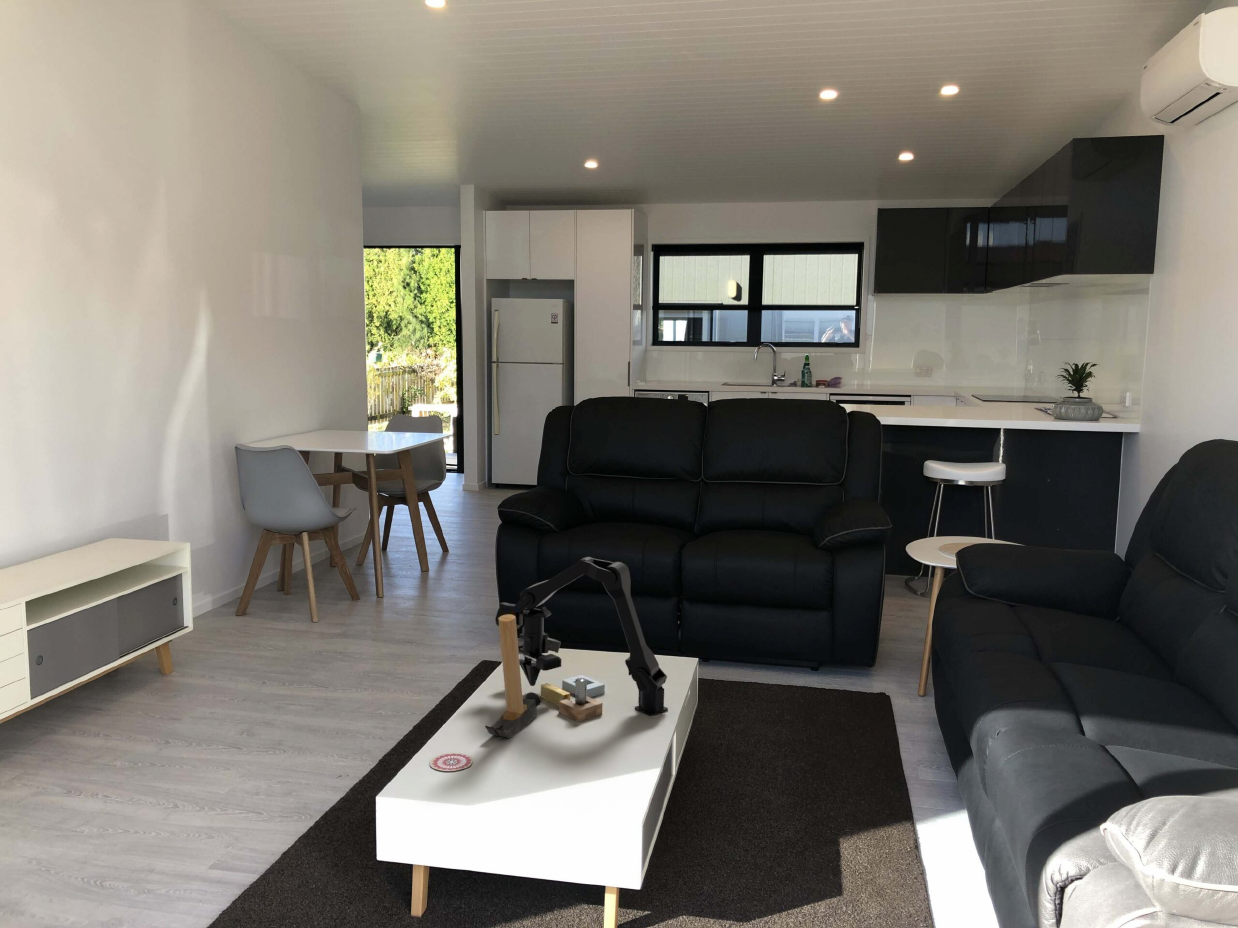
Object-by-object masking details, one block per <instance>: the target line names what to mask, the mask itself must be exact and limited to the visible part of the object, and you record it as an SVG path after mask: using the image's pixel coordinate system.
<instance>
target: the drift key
mask: <svg viewBox="0 0 1238 928" xmlns="http://www.w3.org/2000/svg"><path fill="white" fill-rule="evenodd" d="M541 698H542V699H544V700H545V701H548V702H550V703H552V704H555V705H556V706H559V701H562V700H565V699H568V700H570V701H571V692H568V691H566V690H564V689H562V688H559V687H557V686H555V685H553V684H551V683H548V682H547V683H543V684H540V699H541Z"/></svg>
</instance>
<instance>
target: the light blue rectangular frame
mask: <svg viewBox="0 0 1238 928" xmlns="http://www.w3.org/2000/svg"><path fill="white" fill-rule="evenodd" d="M577 678H585V679H587V696H588V697H590V698H593V697H595V696H597V697H598V696H600V695H604V694H605V692H606V691H605V688H606V687H605V683H602V682H601V681H597V680H595V679H593V678H590V677H587V676H585V675H582V674H579V675H575V676H572V677H568V678H565V679H562V683H561V686H562V687H561V689H562V690H564V691H566V692H569V693H570V694H573V695H575V680H576V679H577Z"/></svg>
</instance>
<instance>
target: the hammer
mask: <svg viewBox="0 0 1238 928" xmlns="http://www.w3.org/2000/svg"><path fill="white" fill-rule="evenodd" d="M498 629H499V639H500V640H499V641H500V648H501V659H502V660H501V663H502V670H503V671H502V672H503V683H504V690H505V691H504V692H505V693H504V694H505V695H504V696H505V703H506V704H505V705H506V711H504V713H503V714H502V715H501V716H500V717H499V718H498V719H497V720H496V722H495V723H494V724H493V725H492V726H488V725H485V729H486V730H487V732H488V734H489V735H491V736H497V737H502V738H507V739H511V738H513V737H515V735H517V734H518V733H519V732H520V731H522V730H523V729H524V728H526V727H527V726H528V725H529V724H530V723H531V722H532V720H533V719H534V718H535V717H536V716H537V707H539V706H541V704H542V699H541V696H539V695H538V694H537V693H535V692H528V693H526V694H525V697H523V689H522V688H523V687H522V678H521V676H522V675H521V666H520V663H519V651H518V642H519V641H518V629H517V628H516V617H515V616H514V615H510V614H508V615H503V616H501V617H499V627H498Z"/></svg>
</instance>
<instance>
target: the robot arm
mask: <svg viewBox="0 0 1238 928" xmlns="http://www.w3.org/2000/svg"><path fill="white" fill-rule="evenodd" d="M629 569H630V568H629V567H628V566H627V564H626V563H623V562H621V561H615V562H612V561H610V560H602V559H597V558H593V557H591V556H586V557H583V558H581V559H580V560H578V561H577V562H576V563H574V564H573V565H572V566H570V567H568V568H567V569H565V570H563V571H561V572H560V573H558V574H556V575H554V576H553V577H551V578H549V579H547V580H544V581H541V582H537V583H535V584H532V585H531V586H529V587H527V588H525V589H523V590H522V591H520V594H519V595H520V596H519V600H518V601H517V602H516V603H515V604H514V603H508V602H501V603H499V607H498V610H497V612H496V616H495V618H494V619H495V625H496V626H497V627H498V628H499V617H501V616H503V615H508V614H510V615H514V616H515V617H516V628H517V630H519V629H520V628H521V627H522V633H519V636H518V637H519V638H520V639H522V640H521V641H518V651H519V663H520V669H521V670H522V671H523V673H524V675H525V678H526V680H527V681H528V684H529V686H531V687H534V686H535V685H536V683H537V681H538V678H539V674H540V673H541V671H543V672H544V671H545V672H547V671H550V670H553V669H558V668H562V658H561V657H560V656H558V655H555V654H553V653H549V651H550V652H554V653H557V654H559V651H560V648H561V643H562V642H561V641H559V640H557V639H554V638H550V636H549V634H548V633H546V632H544V629H545V628H544V622H545V621H544V619H547V617H549V616H551V615H552V612H551V611H550V610H548V609H547V606H543V607H542V608H540V609H539V608H537V607H538V606H540V605H543V604H544V603H545V602H546V601H547V600H549V598H551V597H552V596H553V595H554V594H555V593H556V592H557V591H558V590H560V589H561V588H563V587H565V586H566V585H567V586H568V585H569V584H570V583H572V582H574V581H575V580H577V579H578V578H580V577H582V576H587V577H589V578H591V579H592V580H594V581H597V582H600V583H602V585H603V587H604V589H605V590H606V593H608V595H609V596H610V597H611V598H612V600H613V602H614V604H615V608H616V610H617V614H618V617H619V621H620V624H621V627H622V631H623V633H624V636H625V639H626V643H627V646H628V650H629V656H628V657H627V658H626V659H625V660H624V663H625V666H626V667H627V671H628V676H631V678H632V680H633V681H634V682H635V683H636V684H635V685H636V687H637V689H638V690H637V691H638V702H637V703H638V704H637V705H636V706H634V709H635V710H637V711H639V712H642V713H644V714H646V715H649V716H654V715H658V714H660V713H663V712H666V711H668V710H669V708H668V707H666V706H665V688H664V687H663V685H664V684H665V683H666V681H667V679H668V675H667V674H666V673H665V672H664V671H663V670H662V668H661V667H660V664H659V662H658V660H657V657H656V656H655V654H654V652H653V651H652V650H651V648H650V647H649V646H648V645H647V642H646V640H645V637H644V634H643V630H642V626H641V624H640V621H639V618H638V614H637V611H636V608H635V605H634V601H633V599H632V596H631V586H632V585H631V583H632V582H631V575H630V570H629ZM527 609H528V610H527ZM547 653H548V654H547Z"/></svg>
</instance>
